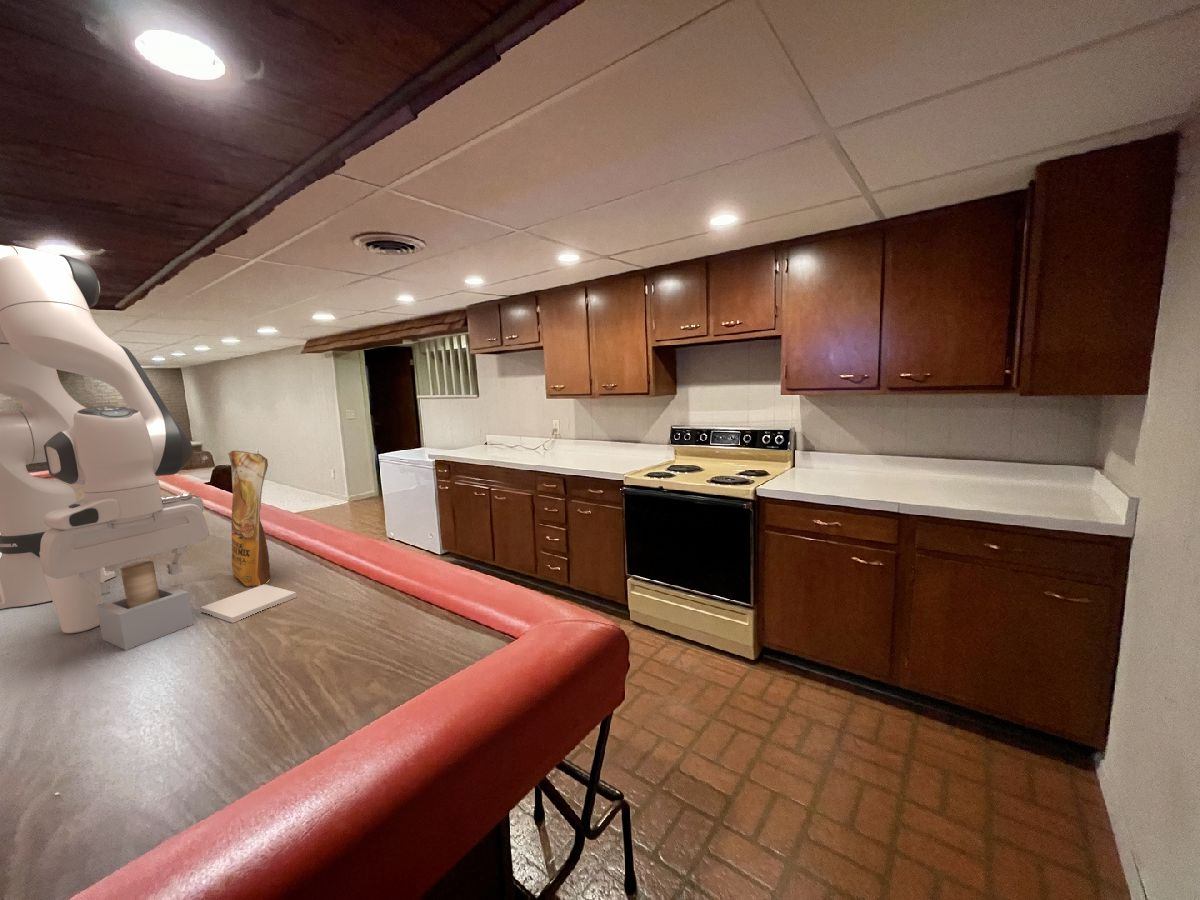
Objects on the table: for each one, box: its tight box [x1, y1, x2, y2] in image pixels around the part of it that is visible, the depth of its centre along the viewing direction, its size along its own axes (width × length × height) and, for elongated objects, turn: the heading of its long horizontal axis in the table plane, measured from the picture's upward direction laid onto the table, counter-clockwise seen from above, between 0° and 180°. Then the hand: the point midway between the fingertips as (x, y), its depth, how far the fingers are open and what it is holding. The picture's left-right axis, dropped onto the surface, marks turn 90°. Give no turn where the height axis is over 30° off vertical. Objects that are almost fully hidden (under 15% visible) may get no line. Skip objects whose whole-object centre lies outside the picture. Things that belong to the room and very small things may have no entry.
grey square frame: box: [96, 584, 195, 651], centre depth 81 cm, size 9×9×6 cm
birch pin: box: [120, 560, 160, 609], centre depth 80 cm, size 4×4×12 cm
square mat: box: [200, 584, 297, 624], centre depth 90 cm, size 11×11×1 cm
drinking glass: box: [39, 552, 104, 634], centre depth 83 cm, size 7×7×15 cm
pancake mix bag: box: [227, 450, 271, 588], centre depth 103 cm, size 7×19×28 cm, turn 48°
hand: (140, 583), depth 80 cm, fingers open, 8 cm apart
